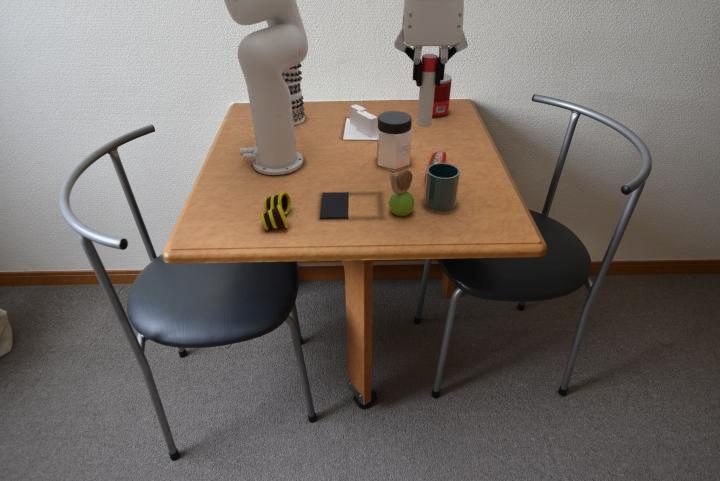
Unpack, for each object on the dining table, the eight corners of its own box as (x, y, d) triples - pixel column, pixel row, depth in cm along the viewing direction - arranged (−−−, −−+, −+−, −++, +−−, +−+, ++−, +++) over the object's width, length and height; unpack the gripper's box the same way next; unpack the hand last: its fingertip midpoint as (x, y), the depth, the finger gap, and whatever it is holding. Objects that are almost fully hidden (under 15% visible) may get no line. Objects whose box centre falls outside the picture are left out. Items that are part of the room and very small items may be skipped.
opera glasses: (270, 210, 104) (262, 191, 101) (293, 205, 104) (286, 186, 101) (265, 236, 97) (256, 216, 94) (290, 231, 96) (282, 211, 93)
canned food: (452, 111, 147) (456, 75, 140) (441, 119, 141) (445, 83, 135) (429, 106, 150) (432, 71, 143) (418, 114, 145) (420, 78, 138)
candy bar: (432, 157, 122) (433, 147, 120) (446, 159, 121) (447, 148, 119) (422, 189, 109) (423, 177, 108) (438, 191, 109) (439, 179, 107)
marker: (417, 127, 92) (423, 58, 84) (416, 121, 94) (421, 53, 86) (432, 127, 92) (438, 58, 84) (430, 121, 94) (436, 53, 86)
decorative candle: (271, 117, 144) (260, 29, 129) (300, 111, 147) (292, 25, 132) (280, 128, 138) (269, 37, 122) (310, 122, 141) (303, 33, 126)
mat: (319, 219, 100) (319, 217, 100) (322, 194, 108) (322, 192, 108) (381, 218, 100) (381, 216, 100) (379, 193, 108) (379, 191, 108)
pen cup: (426, 213, 101) (429, 178, 96) (422, 196, 107) (425, 163, 102) (457, 213, 101) (462, 178, 96) (452, 196, 107) (456, 162, 102)
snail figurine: (379, 215, 101) (380, 165, 94) (399, 204, 104) (402, 154, 97) (398, 226, 98) (401, 175, 90) (419, 214, 101) (423, 163, 94)
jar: (388, 173, 115) (389, 127, 108) (369, 161, 121) (369, 116, 114) (417, 164, 119) (420, 118, 112) (397, 151, 125) (399, 107, 117)
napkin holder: (384, 139, 131) (384, 120, 127) (343, 139, 131) (342, 120, 128) (383, 118, 143) (384, 99, 139) (346, 118, 143) (345, 99, 140)
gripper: (482, -33, 80) (467, 77, 91) (385, -32, 80) (382, 77, 91) (492, -26, 74) (475, 91, 85) (388, -25, 74) (384, 91, 85)
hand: (427, 83), depth 88 cm, fingers closed on marker, 2 cm apart
